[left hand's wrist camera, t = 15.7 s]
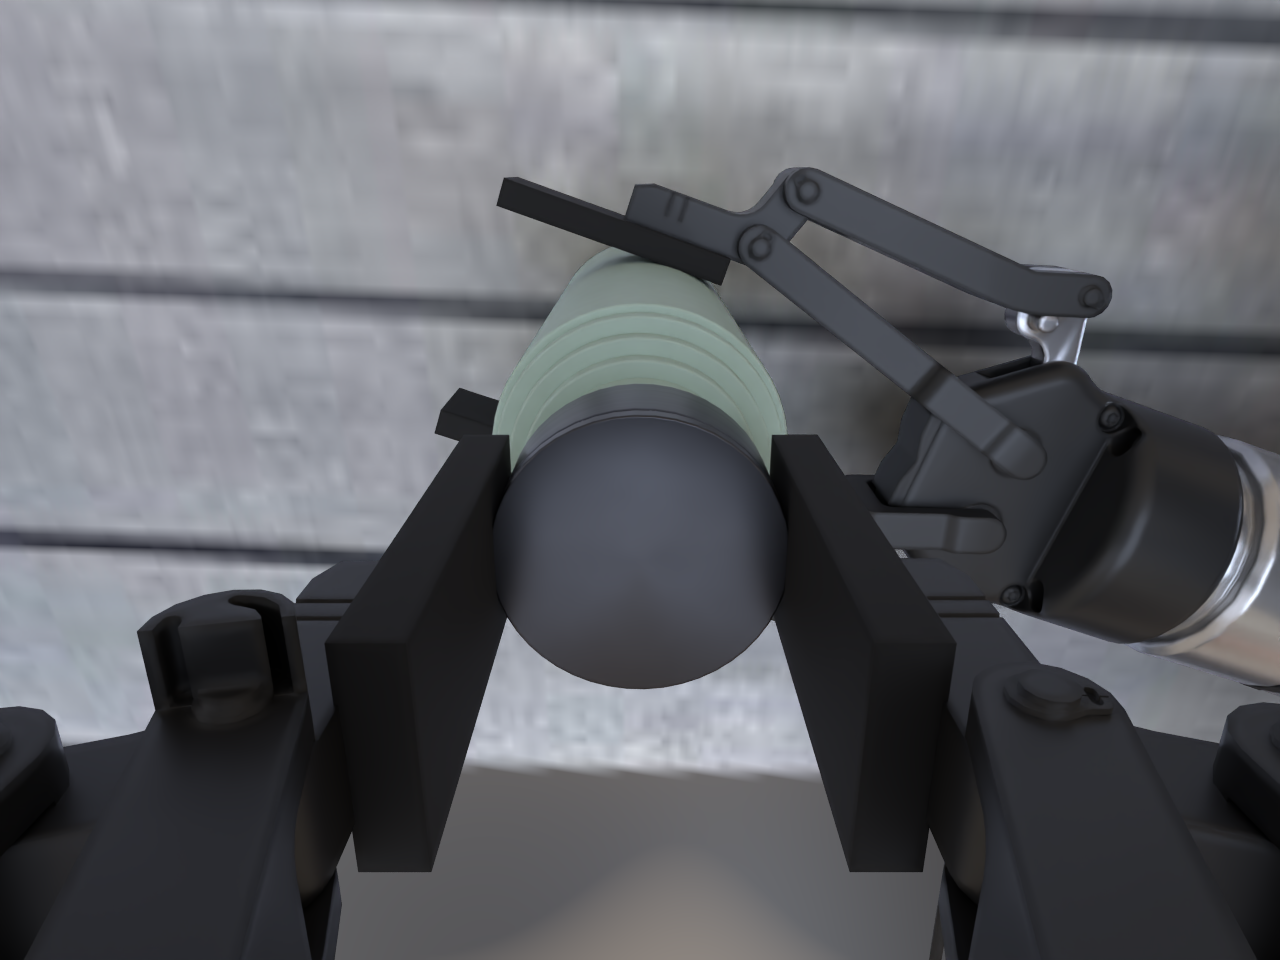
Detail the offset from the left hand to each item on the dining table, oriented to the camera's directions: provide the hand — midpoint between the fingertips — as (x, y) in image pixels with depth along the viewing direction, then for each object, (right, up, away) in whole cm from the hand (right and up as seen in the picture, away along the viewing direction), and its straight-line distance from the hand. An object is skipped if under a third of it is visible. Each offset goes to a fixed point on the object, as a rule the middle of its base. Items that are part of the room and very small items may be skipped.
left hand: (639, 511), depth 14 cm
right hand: (-5, +6, +11) cm, 13 cm away
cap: (0, -1, -1) cm, 2 cm away
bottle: (0, +6, +17) cm, 18 cm away
